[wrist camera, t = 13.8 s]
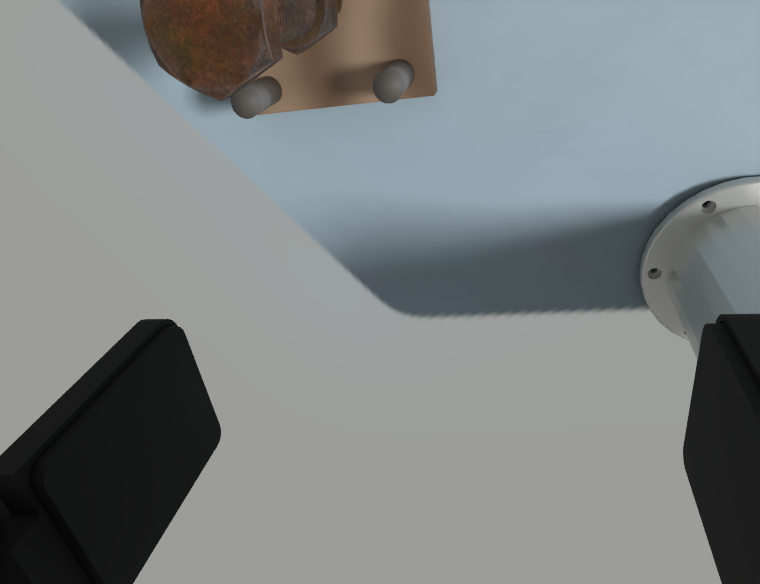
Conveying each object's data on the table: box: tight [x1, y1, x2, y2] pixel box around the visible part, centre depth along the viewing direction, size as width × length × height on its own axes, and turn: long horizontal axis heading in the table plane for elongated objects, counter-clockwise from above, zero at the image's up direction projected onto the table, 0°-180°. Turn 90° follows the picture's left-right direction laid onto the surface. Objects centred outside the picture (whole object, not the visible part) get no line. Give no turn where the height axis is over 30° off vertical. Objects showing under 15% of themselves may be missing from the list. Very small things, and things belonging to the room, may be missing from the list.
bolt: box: [140, 0, 342, 101], centre depth 28 cm, size 6×5×15 cm
